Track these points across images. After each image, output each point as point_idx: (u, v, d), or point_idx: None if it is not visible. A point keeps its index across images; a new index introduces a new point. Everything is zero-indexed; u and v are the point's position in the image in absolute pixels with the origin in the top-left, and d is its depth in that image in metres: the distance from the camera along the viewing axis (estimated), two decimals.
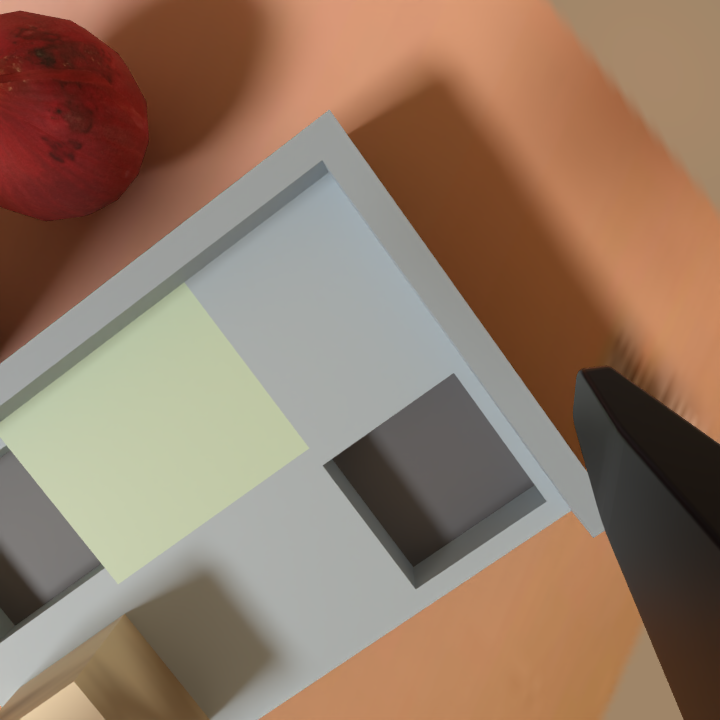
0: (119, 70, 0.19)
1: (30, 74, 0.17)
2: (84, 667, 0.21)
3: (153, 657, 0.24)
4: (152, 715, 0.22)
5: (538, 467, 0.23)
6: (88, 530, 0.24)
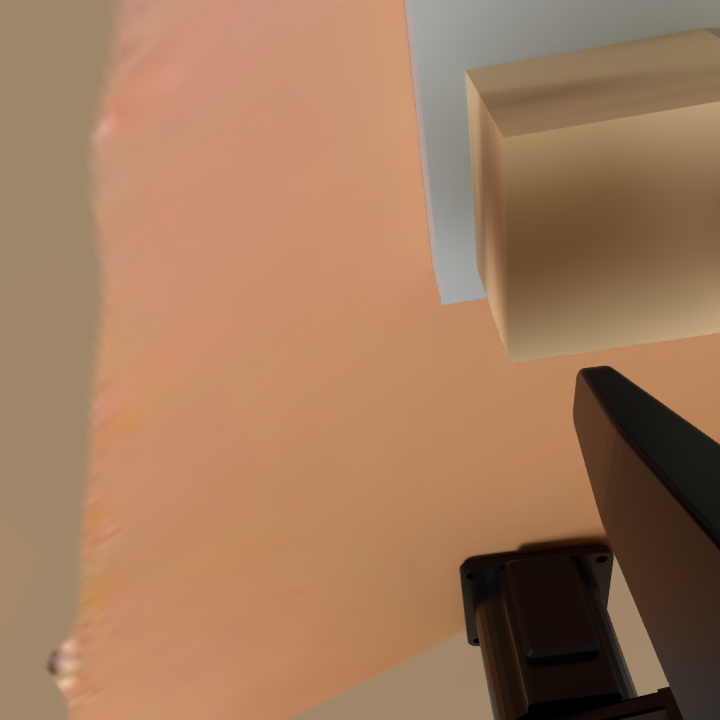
0: None
1: None
2: None
3: None
4: None
5: None
6: None
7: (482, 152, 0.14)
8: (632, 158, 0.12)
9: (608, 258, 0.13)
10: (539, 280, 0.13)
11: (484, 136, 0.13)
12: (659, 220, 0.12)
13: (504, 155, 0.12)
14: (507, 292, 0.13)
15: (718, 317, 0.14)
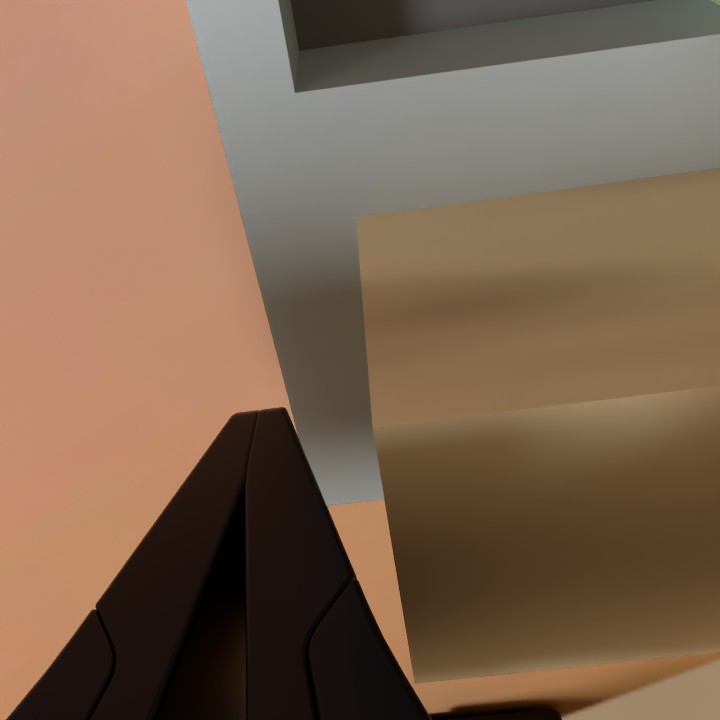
0: None
1: None
2: None
3: None
4: None
5: None
6: None
7: None
8: (612, 455, 0.06)
9: (570, 574, 0.08)
10: (455, 600, 0.08)
11: None
12: (658, 531, 0.07)
13: (377, 449, 0.06)
14: (403, 610, 0.08)
15: None
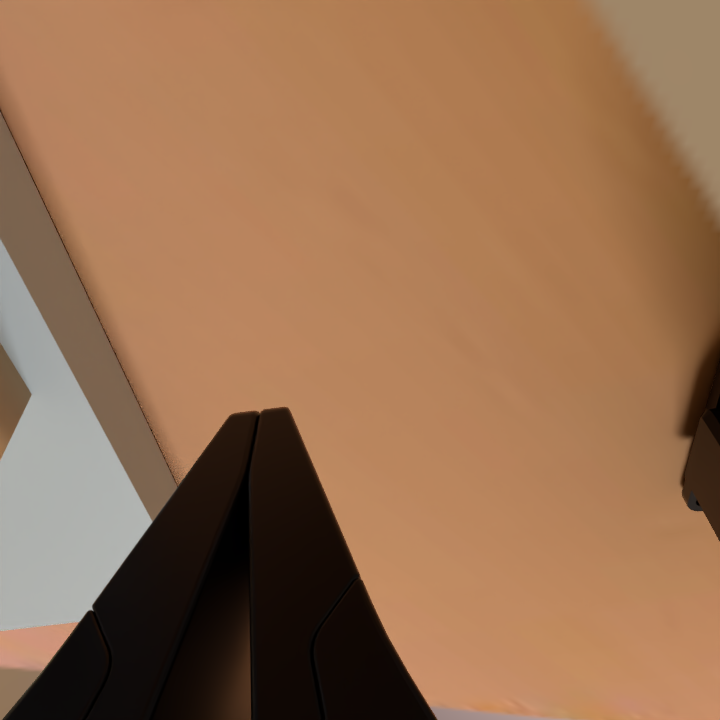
0: None
1: None
2: None
3: None
4: None
5: None
6: None
7: None
8: None
9: None
10: None
11: None
12: None
13: None
14: None
15: None
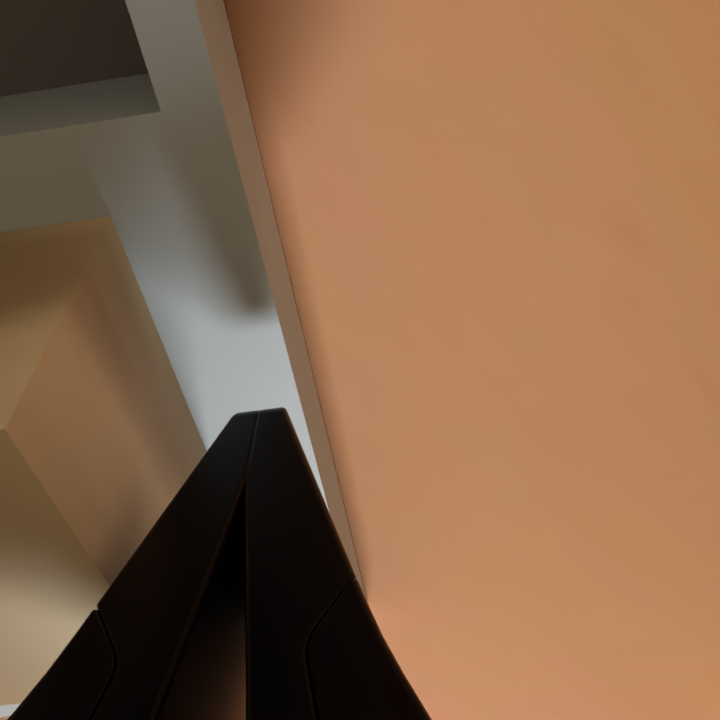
0: None
1: None
2: None
3: None
4: None
5: None
6: None
7: None
8: None
9: None
10: (10, 680, 0.09)
11: None
12: None
13: None
14: None
15: None
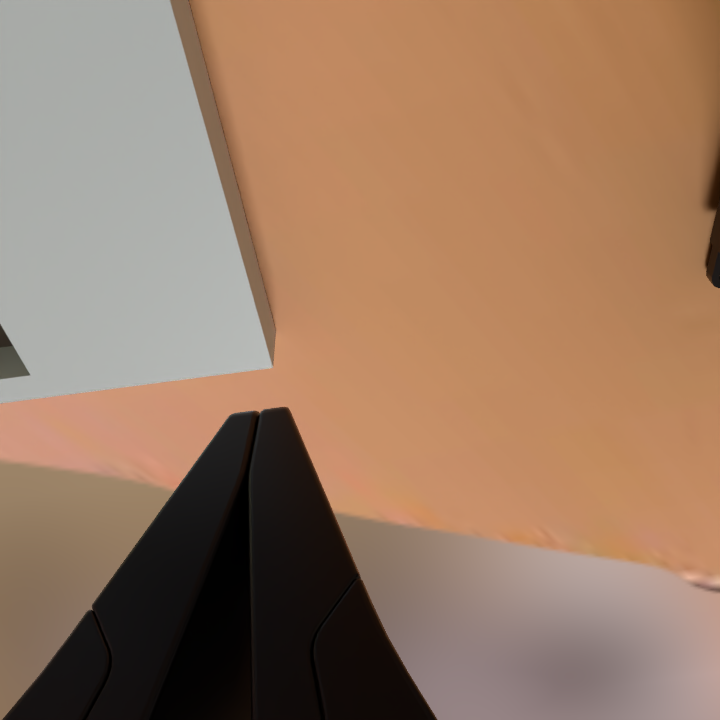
0: None
1: None
2: None
3: None
4: None
5: None
6: None
7: None
8: None
9: None
10: None
11: None
12: None
13: None
14: None
15: None
